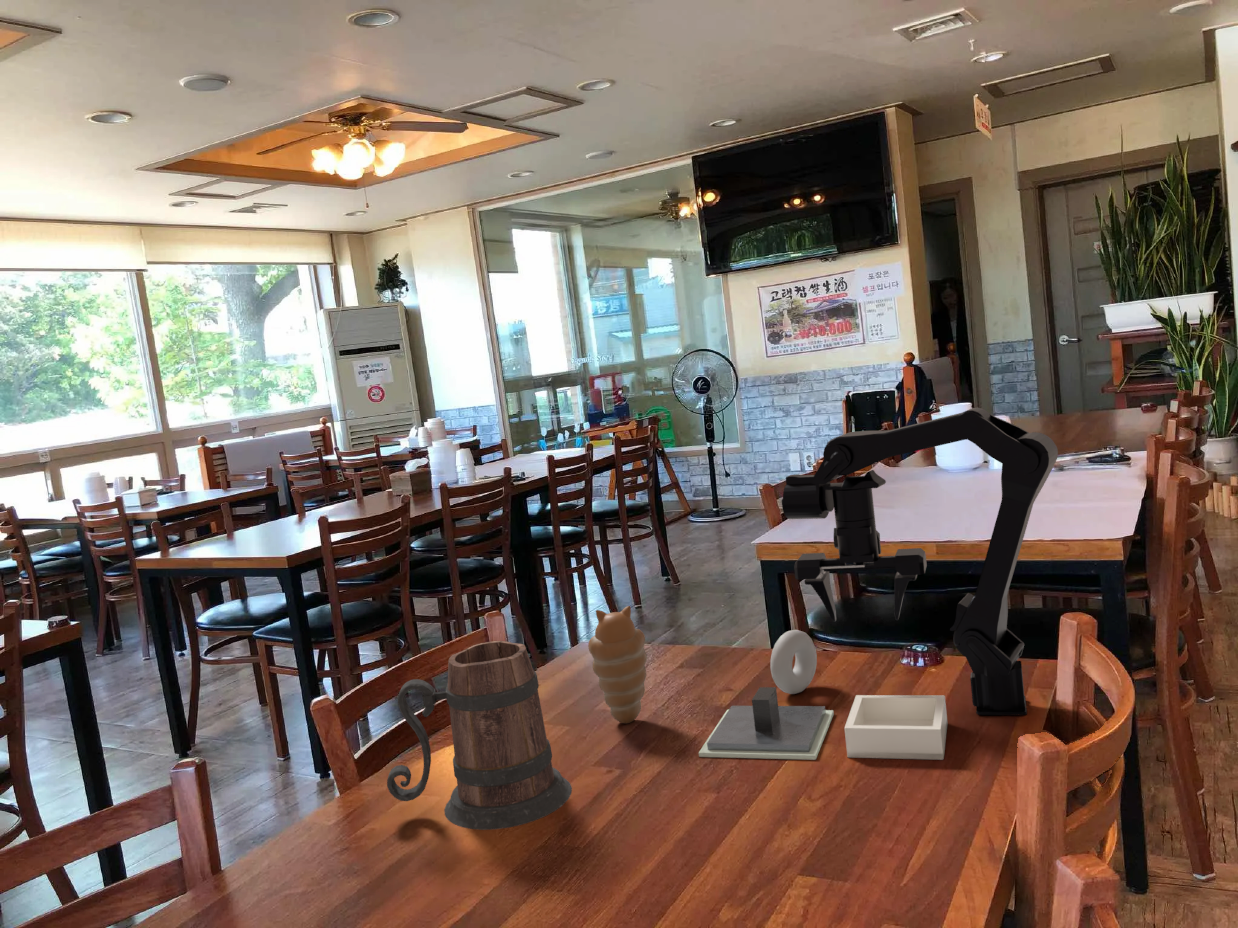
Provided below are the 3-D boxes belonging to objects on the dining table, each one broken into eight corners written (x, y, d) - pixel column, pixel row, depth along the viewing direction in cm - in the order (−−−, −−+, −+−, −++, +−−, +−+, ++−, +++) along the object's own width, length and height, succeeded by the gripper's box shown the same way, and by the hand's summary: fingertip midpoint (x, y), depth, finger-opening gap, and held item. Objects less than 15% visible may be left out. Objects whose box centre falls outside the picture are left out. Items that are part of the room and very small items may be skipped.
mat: (833, 714, 145) (833, 710, 145) (815, 759, 130) (815, 755, 130) (727, 713, 151) (727, 709, 151) (699, 756, 136) (698, 752, 136)
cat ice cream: (653, 709, 156) (639, 598, 154) (657, 727, 148) (642, 610, 147) (598, 716, 156) (583, 606, 154) (598, 735, 148) (583, 618, 147)
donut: (787, 704, 151) (780, 641, 150) (769, 701, 153) (762, 638, 152) (824, 683, 158) (817, 623, 157) (806, 680, 160) (799, 621, 159)
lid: (825, 712, 144) (821, 676, 144) (809, 752, 131) (804, 712, 131) (732, 711, 149) (728, 676, 149) (707, 749, 136) (703, 711, 136)
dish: (947, 723, 136) (944, 695, 136) (943, 759, 125) (940, 729, 125) (858, 722, 141) (856, 695, 140) (847, 757, 129) (844, 727, 129)
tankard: (568, 763, 140) (549, 625, 137) (576, 815, 123) (554, 660, 121) (400, 791, 137) (378, 651, 135) (385, 848, 121) (360, 690, 118)
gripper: (923, 503, 151) (933, 603, 152) (801, 511, 158) (812, 607, 159) (918, 517, 140) (929, 624, 142) (788, 525, 147) (799, 627, 149)
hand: (865, 619), depth 148 cm, fingers open, 9 cm apart
